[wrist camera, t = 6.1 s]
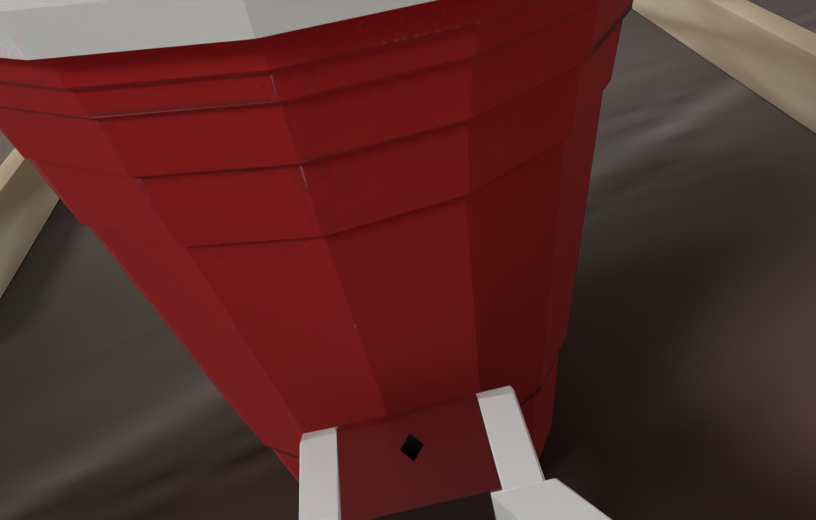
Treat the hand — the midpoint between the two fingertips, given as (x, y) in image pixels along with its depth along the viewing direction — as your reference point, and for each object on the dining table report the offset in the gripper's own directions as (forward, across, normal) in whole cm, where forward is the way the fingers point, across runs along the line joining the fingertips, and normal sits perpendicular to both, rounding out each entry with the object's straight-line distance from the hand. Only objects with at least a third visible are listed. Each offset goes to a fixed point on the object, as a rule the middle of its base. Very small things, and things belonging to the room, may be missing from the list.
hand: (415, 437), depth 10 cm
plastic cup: (+4, 0, +5) cm, 7 cm away
